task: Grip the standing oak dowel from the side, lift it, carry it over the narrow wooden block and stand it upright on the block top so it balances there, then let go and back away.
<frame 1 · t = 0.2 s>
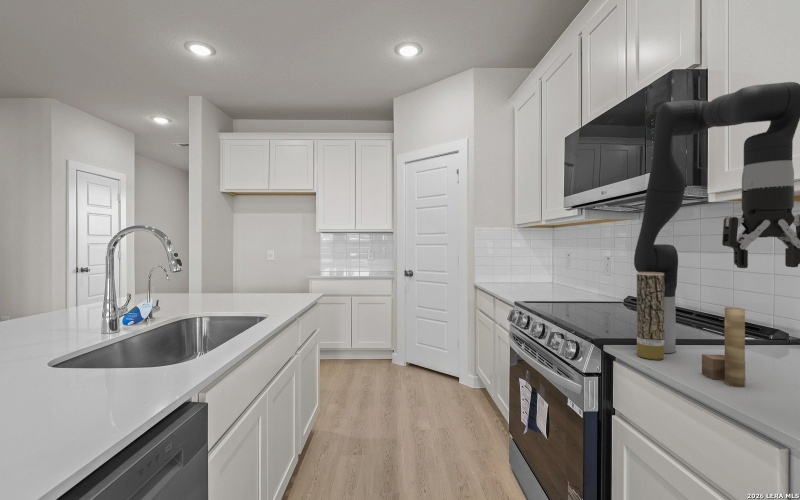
hand: (766, 267, 77), 29 cm above the countertop, tool pointing down, fingers open, 8 cm apart
brown bark cylinder: (650, 357, 113), on the countertop
wooden block: (722, 377, 95), on the countertop
dowel: (734, 384, 91), on the countertop
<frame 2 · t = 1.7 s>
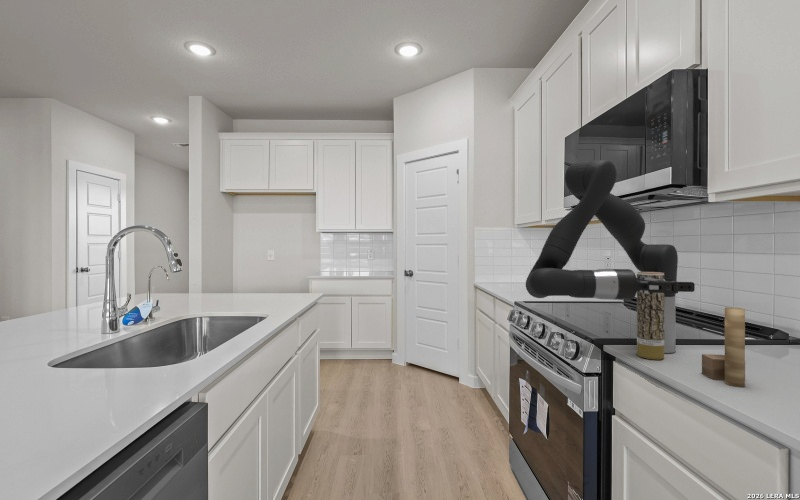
hand: (683, 285, 92), 23 cm above the countertop, tool horizontal, fingers open, 8 cm apart
nothing on the countertop moved.
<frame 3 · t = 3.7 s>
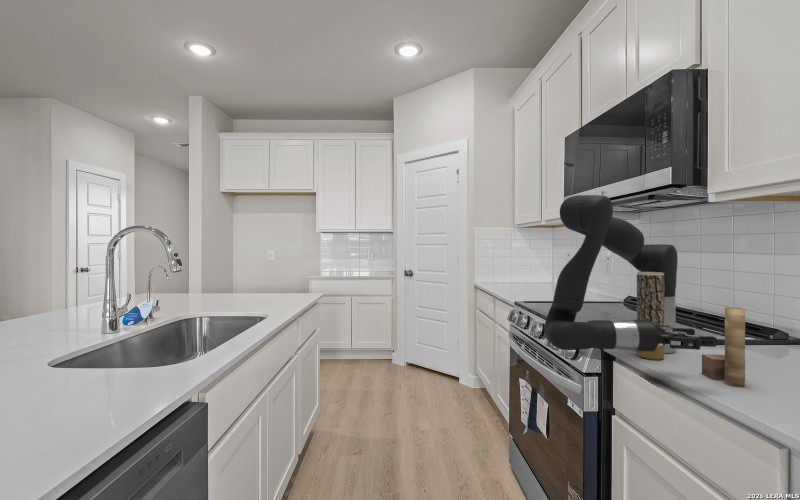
hand: (704, 337, 92), 11 cm above the countertop, tool horizontal, fingers open, 8 cm apart
nothing on the countertop moved.
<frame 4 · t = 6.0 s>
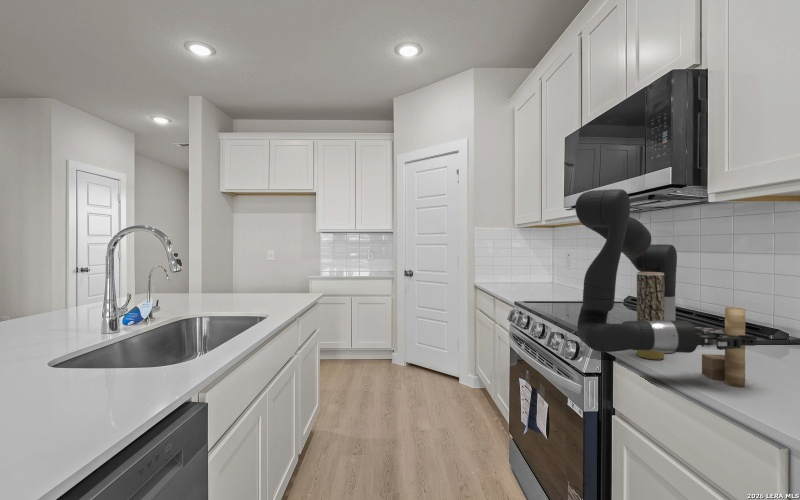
hand: (748, 338, 90), 11 cm above the countertop, tool horizontal, fingers closed on dowel, 3 cm apart
dowel: (734, 384, 91), on the countertop, touching gripper
everything else where it was.
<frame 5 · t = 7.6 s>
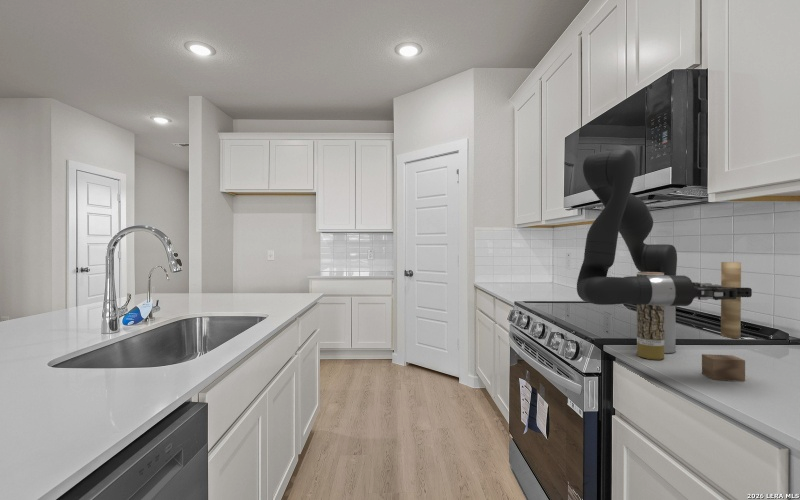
hand: (743, 291, 92), 22 cm above the countertop, tool horizontal, fingers closed on dowel, 3 cm apart
dowel: (730, 336, 92), point 11 cm above the countertop, touching gripper
everything else where it was.
when the fingers open (17 cm above the countertop, at t = 9.4 s): dowel drops 1 cm, resting on wooden block.
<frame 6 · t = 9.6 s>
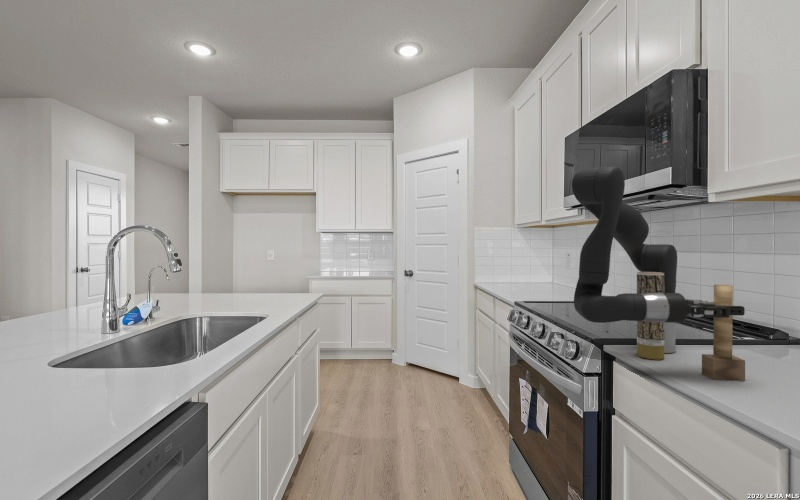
hand: (734, 308, 95), 17 cm above the countertop, tool horizontal, fingers open, 5 cm apart
dowel: (722, 357, 95), point 5 cm above the countertop, touching wooden block
everything else where it was.
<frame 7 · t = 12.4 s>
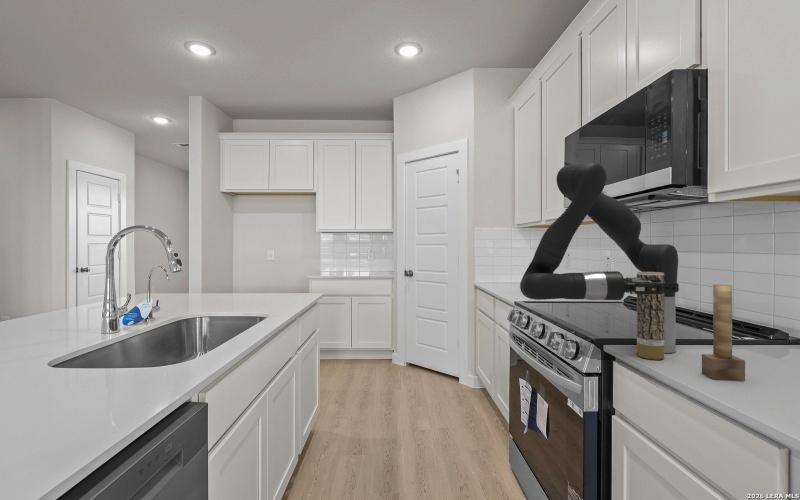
hand: (668, 285, 97), 23 cm above the countertop, tool horizontal, fingers open, 8 cm apart
nothing on the countertop moved.
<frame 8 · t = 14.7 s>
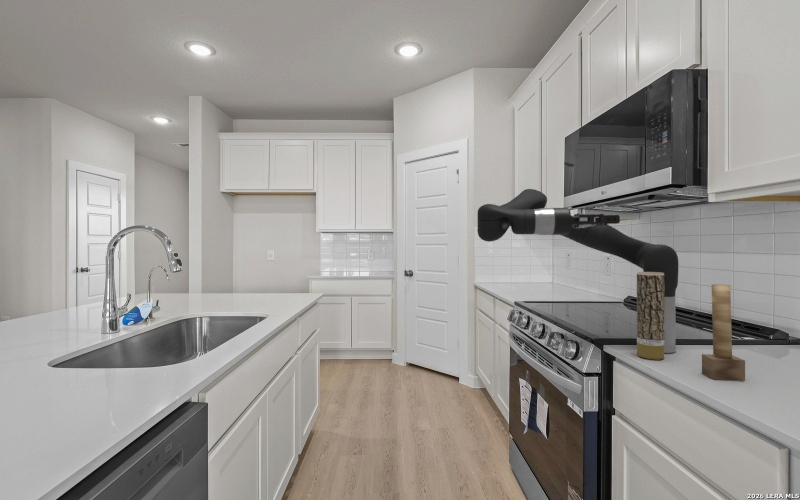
hand: (612, 220, 104), 40 cm above the countertop, tool horizontal, fingers open, 8 cm apart
nothing on the countertop moved.
at the end: dowel 0.1 cm off-centre on the wooden block, point 5.0 cm above the wooden block's base; dowel tilted 1°; the gripper is holding nothing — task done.
